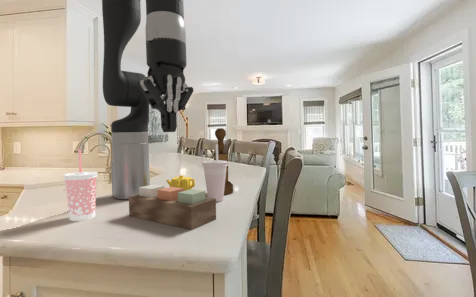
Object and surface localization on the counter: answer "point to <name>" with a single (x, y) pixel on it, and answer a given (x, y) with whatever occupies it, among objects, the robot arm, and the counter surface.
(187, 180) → the teapot
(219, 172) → the smoothie
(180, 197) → the sage key
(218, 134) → the mortar and pestle
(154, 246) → the counter surface
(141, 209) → the key panel
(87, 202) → the beverage cup
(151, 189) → the offwhite key
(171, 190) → the terracotta key
